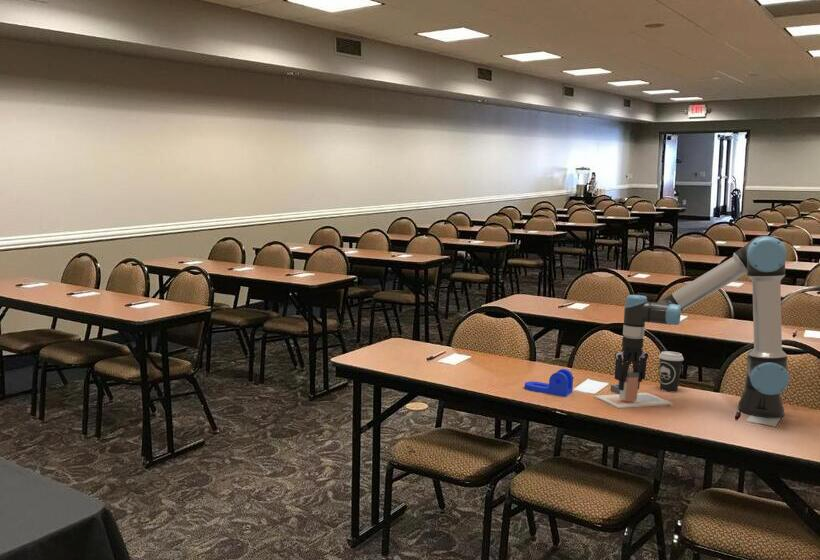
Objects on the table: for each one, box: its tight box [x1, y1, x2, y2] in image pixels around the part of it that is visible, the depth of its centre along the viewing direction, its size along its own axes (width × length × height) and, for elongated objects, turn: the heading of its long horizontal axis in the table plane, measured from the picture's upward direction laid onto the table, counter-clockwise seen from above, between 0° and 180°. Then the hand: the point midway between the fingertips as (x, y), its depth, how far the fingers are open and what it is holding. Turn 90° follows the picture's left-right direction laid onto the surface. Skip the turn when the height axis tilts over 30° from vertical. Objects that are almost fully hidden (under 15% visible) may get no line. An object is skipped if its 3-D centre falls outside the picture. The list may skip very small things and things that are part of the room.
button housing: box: [610, 383, 620, 394], centre depth 275 cm, size 7×7×2 cm
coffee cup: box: [658, 350, 685, 392], centre depth 281 cm, size 10×10×15 cm
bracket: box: [523, 368, 574, 398], centre depth 272 cm, size 18×8×9 cm, turn 60°
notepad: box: [594, 392, 674, 410], centre depth 263 cm, size 15×24×1 cm, turn 109°
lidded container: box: [619, 369, 639, 401], centre depth 258 cm, size 5×5×11 cm
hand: (628, 398), depth 259 cm, fingers closed on lidded container, 4 cm apart
